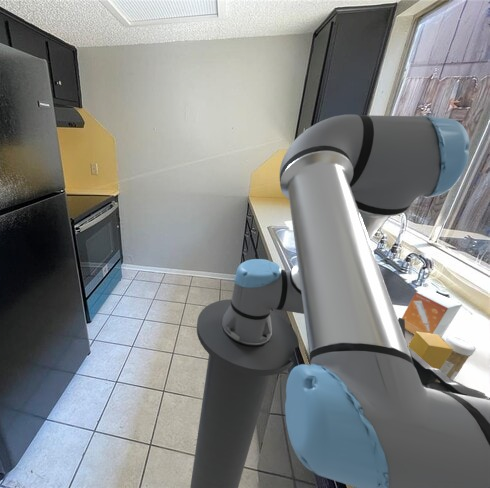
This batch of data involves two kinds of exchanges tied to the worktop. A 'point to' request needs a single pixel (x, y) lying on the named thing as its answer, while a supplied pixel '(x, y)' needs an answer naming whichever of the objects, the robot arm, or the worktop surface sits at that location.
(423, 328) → the small box
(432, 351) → the yellow bar
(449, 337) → the sprinkles bottle
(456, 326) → the worktop surface
